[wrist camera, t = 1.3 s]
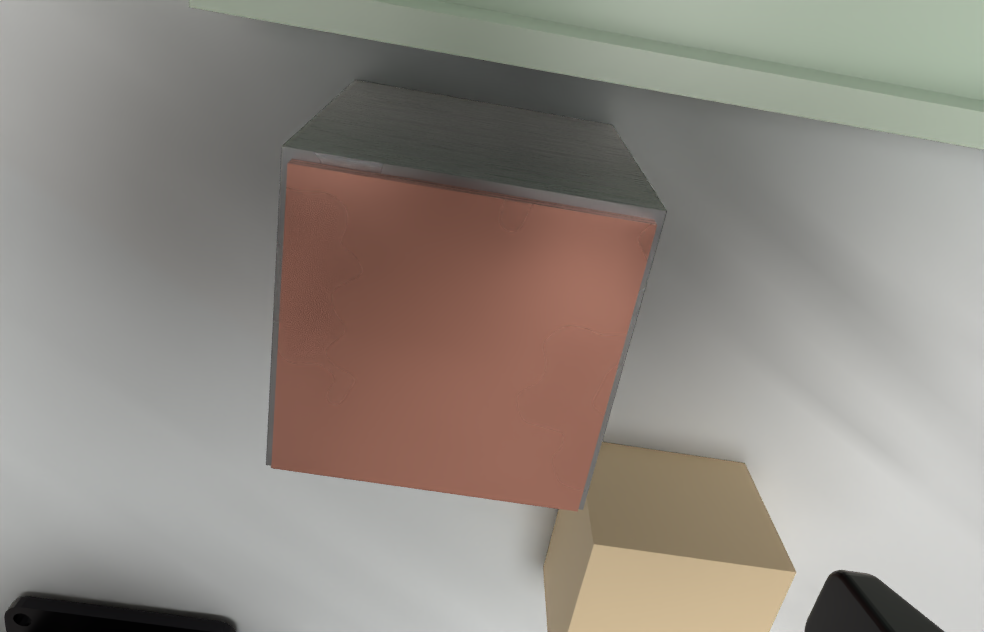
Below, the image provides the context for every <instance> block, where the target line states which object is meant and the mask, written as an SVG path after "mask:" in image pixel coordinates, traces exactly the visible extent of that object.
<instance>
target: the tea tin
mask: <svg viewBox="0 0 984 632" xmlns="http://www.w3.org/2000/svg"><path fill="white" fill-rule="evenodd" d="M666 213H667V211H666V209H665V208H664V206H663V204H662V203H661V201H660V200H659V198H658V196H657V195H656V193H655V192H654V190H653V189H652V187H651V185H650V184H649V182H648V181H647V179H646V177H645V176H644V174H643V173H642V171H641V170H640V168H639V166H638V165H637V163H636V162H635V160H634V158H633V157H632V155H631V154H630V152H629V151H628V149H627V147H626V146H625V144H624V143H623V141H622V139H621V138H620V136H619V135H618V133H617V132H616V130H615V128H614V127H613V125H611V124H605V123H599V122H594V121H588V120H582V119H577V118H571V117H565V116H559V115H554V114H548V113H542V112H537V111H531V110H525V109H520V108H514V107H508V106H502V105H497V104H491V103H485V102H480V101H474V100H468V99H463V98H457V97H451V96H445V95H440V94H434V93H428V92H423V91H417V90H411V89H406V88H400V87H394V86H388V85H383V84H377V83H371V82H366V81H360V80H355V81H353V82H352V83H351V84H350V85H349V86H348V87H347V88H346V89H345V90H343V91H342V92H341V93H340V94H339V95H338V96H337V97H336V98H335V99H334V100H332V101H331V102H330V103H329V104H328V105H327V106H326V107H325V108H324V109H322V110H321V111H320V112H319V113H318V114H317V115H316V116H315V117H314V118H313V119H311V120H310V121H309V122H308V123H307V124H306V125H305V126H304V127H303V128H301V129H300V130H299V131H298V132H297V133H296V134H295V135H294V136H293V137H292V138H290V139H289V140H288V141H287V142H286V143H285V144H284V145H283V146H282V151H281V171H280V191H279V212H278V232H277V252H276V272H275V292H274V313H273V333H272V353H271V373H270V393H269V414H268V434H267V454H266V465H270V466H271V468H274V469H281V470H288V471H295V472H302V473H309V474H316V475H323V476H330V477H337V478H344V479H351V480H359V481H366V482H373V483H380V484H387V485H394V486H401V487H408V488H415V489H422V490H429V491H436V492H443V493H450V494H457V495H464V496H471V497H478V498H485V499H492V500H499V501H507V502H514V503H521V504H528V505H535V506H542V507H549V508H556V509H563V510H570V511H577V512H578V509H580V510H583V508H584V504H585V501H586V497H587V494H588V490H589V487H590V483H591V480H592V476H593V472H594V469H595V465H596V462H597V458H598V455H599V451H600V448H601V444H602V440H603V437H604V433H605V430H606V426H607V423H608V419H609V416H610V412H611V408H612V405H613V401H614V398H615V394H616V391H617V387H618V384H619V380H620V376H621V373H622V369H623V366H624V362H625V359H626V355H627V352H628V348H629V344H630V341H631V337H632V334H633V330H634V327H635V323H636V320H637V316H638V312H639V309H640V305H641V302H642V298H643V295H644V291H645V288H646V284H647V281H648V277H649V273H650V270H651V266H652V263H653V259H654V256H655V252H656V249H657V245H658V241H659V238H660V234H661V231H662V227H663V224H664V220H665V217H666Z"/></svg>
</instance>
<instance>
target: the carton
mask: <svg viewBox="0 0 984 632" xmlns="http://www.w3.org/2000/svg"><path fill="white" fill-rule="evenodd" d="M543 572H544V587H545V601H546V616H547V630H548V632H769V631H770V629H771V627H772V624H773V622H774V620H775V618H776V616H777V613H778V611H779V609H780V607H781V605H782V603H783V600H784V598H785V596H786V594H787V592H788V589H789V587H790V585H791V583H792V581H793V579H794V576H795V574H796V571H795V569H794V566H793V564H792V562H791V560H790V558H789V556H788V554H787V552H786V550H785V547H784V545H783V543H782V541H781V539H780V537H779V535H778V533H777V531H776V528H775V526H774V524H773V522H772V520H771V518H770V516H769V514H768V511H767V509H766V507H765V505H764V503H763V501H762V499H761V497H760V495H759V492H758V490H757V488H756V486H755V484H754V482H753V480H752V478H751V476H750V473H749V471H748V469H747V467H746V465H745V463H740V462H734V461H727V460H720V459H714V458H707V457H700V456H693V455H687V454H680V453H673V452H666V451H660V450H653V449H646V448H640V447H633V446H626V445H619V444H613V443H606V442H602V444H601V448H600V451H599V455H598V458H597V462H596V465H595V469H594V472H593V476H592V480H591V483H590V487H589V490H588V494H587V497H586V501H585V504H584V508H583V510H580V509H578V512H577V511H570V510H563V509H558V513H557V517H556V521H555V525H554V528H553V532H552V536H551V540H550V544H549V547H548V551H547V555H546V559H545V563H544V566H543Z"/></svg>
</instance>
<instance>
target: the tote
mask: <svg viewBox="0 0 984 632" xmlns="http://www.w3.org/2000/svg"><path fill="white" fill-rule="evenodd" d="M189 7H190V8H195V9H201V10H206V11H212V12H217V13H223V14H229V15H234V16H240V17H245V18H251V19H256V20H262V21H268V22H273V23H279V24H284V25H290V26H296V27H301V28H307V29H312V30H318V31H323V32H329V33H335V34H340V35H346V36H351V37H357V38H362V39H368V40H374V41H379V42H385V43H390V44H396V45H402V46H407V47H413V48H418V49H424V50H429V51H435V52H441V53H446V54H452V55H457V56H463V57H468V58H474V59H480V60H485V61H491V62H496V63H502V64H508V65H513V66H519V67H524V68H530V69H535V70H541V71H547V72H552V73H558V74H563V75H569V76H574V77H580V78H586V79H591V80H597V81H602V82H608V83H614V84H619V85H625V86H630V87H636V88H641V89H647V90H653V91H658V92H664V93H669V94H675V95H680V96H686V97H692V98H697V99H703V100H708V101H714V102H720V103H725V104H731V105H736V106H742V107H747V108H753V109H759V110H764V111H770V112H775V113H781V114H786V115H792V116H798V117H803V118H809V119H814V120H820V121H826V122H831V123H837V124H842V125H848V126H853V127H859V128H865V129H870V130H876V131H881V132H887V133H892V134H898V135H904V136H909V137H915V138H920V139H926V140H932V141H937V142H943V143H948V144H954V145H959V146H965V147H971V148H976V149H982V150H984V0H189Z"/></svg>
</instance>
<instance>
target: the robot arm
mask: <svg viewBox="0 0 984 632" xmlns="http://www.w3.org/2000/svg"><path fill="white" fill-rule="evenodd" d="M4 618H5V625H6V631H7V632H236V631H235V630H234V628H233V627H232V626H230V625H229V624H227V623H224V622H221V621H214V620H206V619H198V618H191V617H183V616H175V615H167V614H160V613H152V612H144V611H137V610H129V609H121V608H113V607H106V606H98V605H90V604H82V603H75V602H67V601H59V600H51V599H44V598H36V597H19V598H17V599H16V600H15V601H14V602H13V603H12V604H11V606H10V607H9V608H8V610H7V611H6V612H5V617H4ZM805 632H944V631H943V630H942V629H940V628H939V627H938V626H937V625H935V624H934V623H933V622H932V621H930V620H929V619H928V618H927V617H925V616H924V615H923V614H922V613H920V612H919V611H918V610H917V609H915V608H914V607H913V606H912V605H910V604H909V603H908V602H907V601H905V600H904V599H903V598H902V597H900V596H899V595H898V594H897V593H895V592H894V591H893V590H892V589H890V588H889V587H888V586H887V585H885V584H884V583H883V582H882V581H880V580H879V579H878V578H876V577H875V576H873V575H870V574H867V573H860V572H853V571H846V570H837V571H834V572H833V573H831V574H830V575H829V576H828V578H827V580H826V582H825V584H824V586H823V588H822V590H821V592H820V594H819V596H818V598H817V600H816V603H815V605H814V607H813V609H812V611H811V613H810V615H809V617H808V619H807V622H806V626H805Z"/></svg>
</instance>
